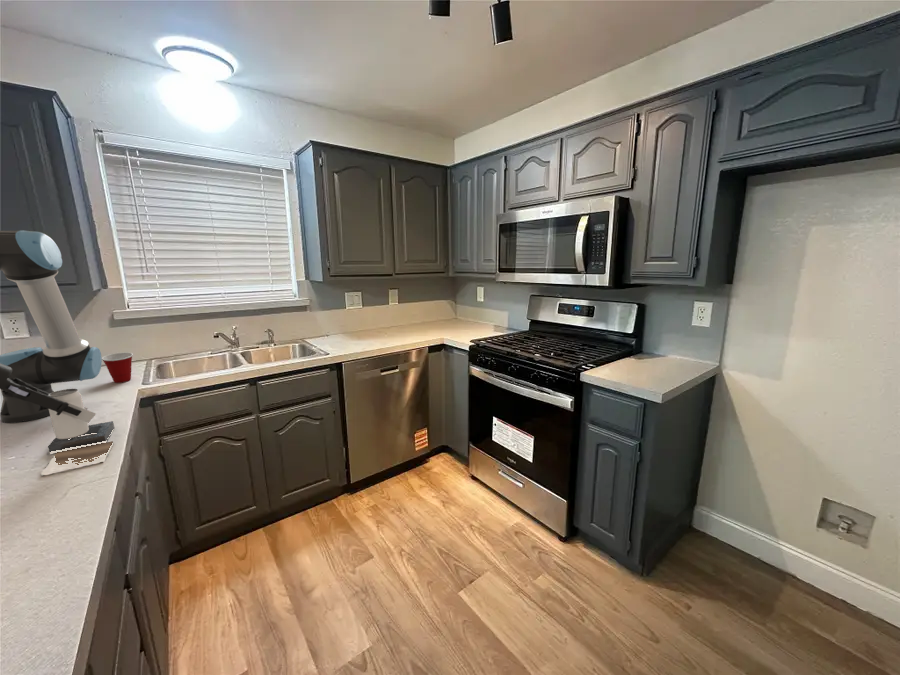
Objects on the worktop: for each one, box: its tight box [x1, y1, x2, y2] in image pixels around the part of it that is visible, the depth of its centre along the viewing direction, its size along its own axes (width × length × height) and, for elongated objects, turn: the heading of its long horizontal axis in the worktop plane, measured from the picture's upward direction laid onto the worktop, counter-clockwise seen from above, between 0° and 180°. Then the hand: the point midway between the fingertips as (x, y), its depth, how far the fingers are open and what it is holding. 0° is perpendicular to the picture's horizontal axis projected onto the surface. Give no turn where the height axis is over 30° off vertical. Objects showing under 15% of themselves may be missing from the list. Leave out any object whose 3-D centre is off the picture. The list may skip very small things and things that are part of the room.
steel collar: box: [47, 420, 115, 452], centre depth 114 cm, size 12×12×2 cm
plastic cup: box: [101, 352, 134, 384], centre depth 168 cm, size 11×11×12 cm
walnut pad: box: [53, 440, 114, 465], centre depth 104 cm, size 12×12×1 cm
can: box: [48, 388, 89, 439], centre depth 101 cm, size 6×6×12 cm
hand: (87, 415), depth 104 cm, fingers closed on can, 6 cm apart
